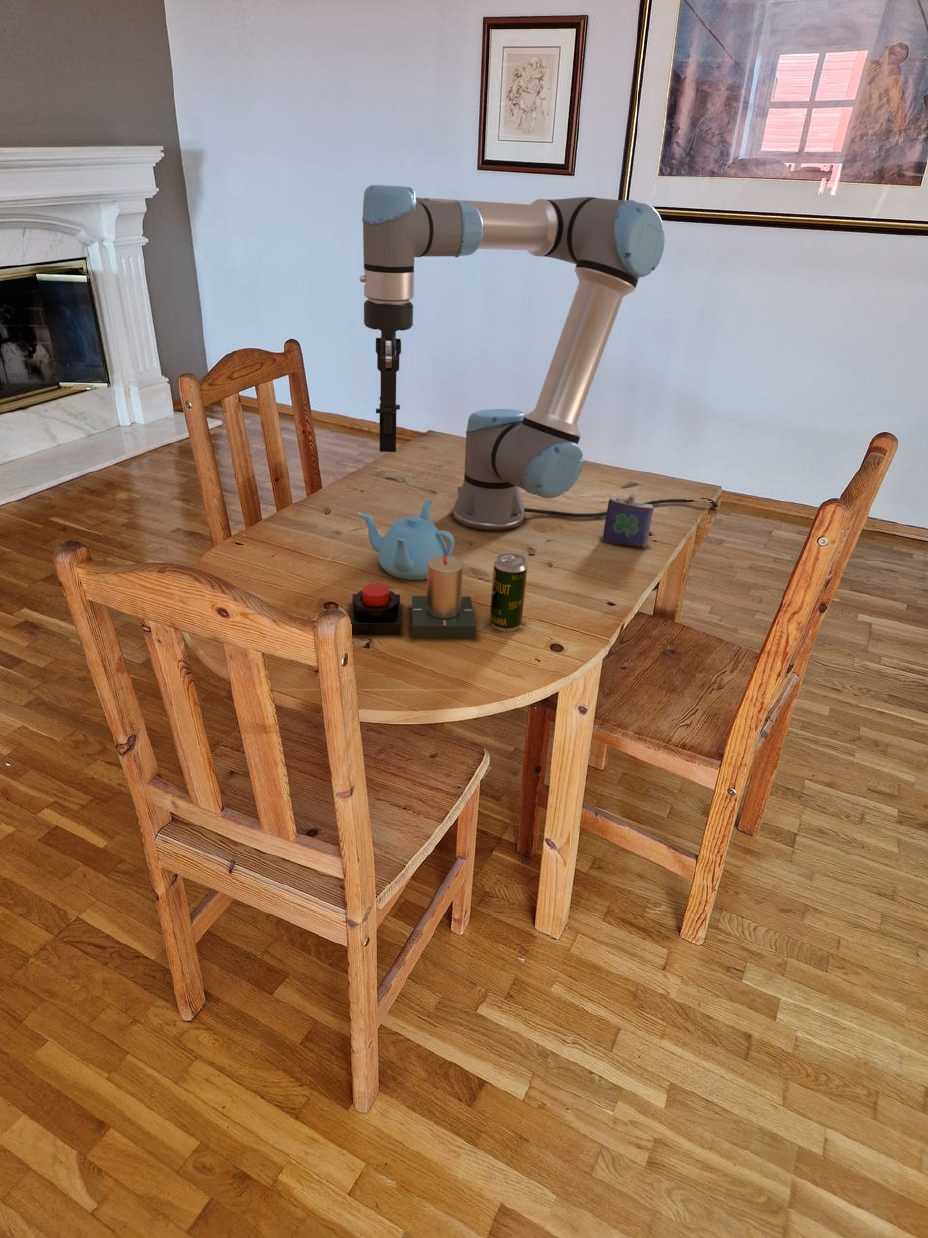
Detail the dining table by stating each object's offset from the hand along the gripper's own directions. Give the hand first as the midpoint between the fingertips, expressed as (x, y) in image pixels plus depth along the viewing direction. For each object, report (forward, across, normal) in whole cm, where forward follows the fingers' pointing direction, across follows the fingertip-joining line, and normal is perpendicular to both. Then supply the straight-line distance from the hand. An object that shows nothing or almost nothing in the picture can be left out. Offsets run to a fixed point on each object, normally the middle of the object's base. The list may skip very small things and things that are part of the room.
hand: (387, 450), depth 135 cm
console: (+24, +16, +9) cm, 30 cm away
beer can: (+24, +16, +20) cm, 35 cm away
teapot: (+24, -5, +4) cm, 25 cm away
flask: (+25, -18, +49) cm, 58 cm away
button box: (+24, +15, -2) cm, 28 cm away
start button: (+21, +15, -2) cm, 25 cm away
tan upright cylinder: (+22, +16, +9) cm, 28 cm away
